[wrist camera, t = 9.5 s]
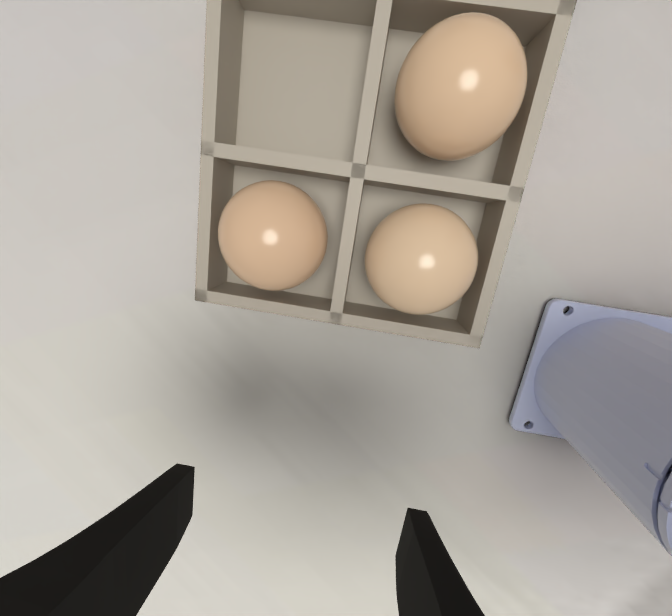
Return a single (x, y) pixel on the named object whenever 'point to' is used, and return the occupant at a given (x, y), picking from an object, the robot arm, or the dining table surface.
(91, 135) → the dining table surface
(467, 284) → the seated egg
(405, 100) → the loose egg
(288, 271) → the seated egg
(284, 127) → the egg tray
